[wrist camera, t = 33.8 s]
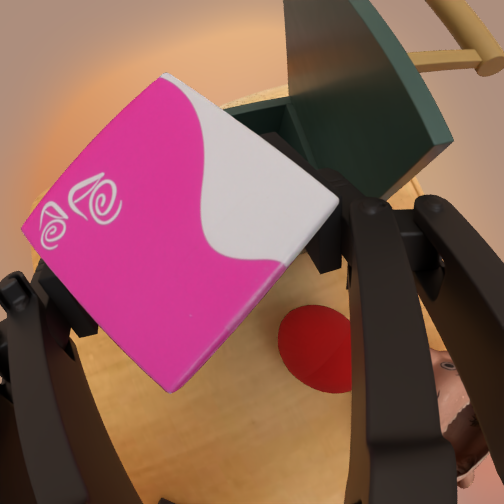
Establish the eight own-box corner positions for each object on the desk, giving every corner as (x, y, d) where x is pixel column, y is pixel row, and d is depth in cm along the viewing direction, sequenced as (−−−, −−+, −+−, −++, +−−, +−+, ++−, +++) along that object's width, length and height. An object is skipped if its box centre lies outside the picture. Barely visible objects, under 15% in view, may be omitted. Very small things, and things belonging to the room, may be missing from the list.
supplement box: (204, 193, 18) (169, 60, 7) (282, 261, 18) (359, 204, 7) (136, 268, 18) (11, 227, 6) (213, 340, 17) (181, 410, 6)
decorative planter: (462, 422, 33) (526, 453, 19) (396, 481, 32) (447, 533, 18) (406, 314, 35) (483, 320, 21) (325, 379, 33) (375, 424, 20)
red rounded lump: (357, 342, 34) (399, 356, 24) (315, 389, 33) (343, 420, 23) (298, 286, 35) (322, 283, 25) (253, 335, 34) (260, 352, 24)
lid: (434, 145, 8) (574, 119, 7) (275, -79, 9) (413, -78, 8) (340, 234, 26) (426, 207, 25) (288, 93, 27) (368, 76, 27)
